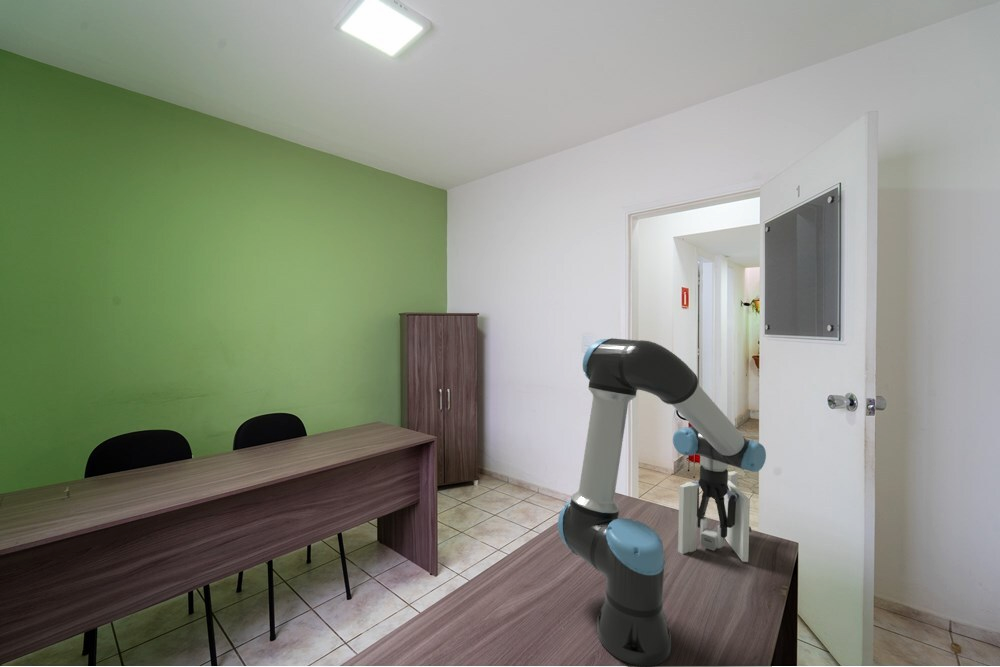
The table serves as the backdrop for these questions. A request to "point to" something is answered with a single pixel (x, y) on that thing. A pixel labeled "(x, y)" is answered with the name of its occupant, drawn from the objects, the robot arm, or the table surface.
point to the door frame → (691, 514)
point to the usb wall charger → (709, 539)
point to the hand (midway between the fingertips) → (711, 542)
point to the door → (739, 523)
